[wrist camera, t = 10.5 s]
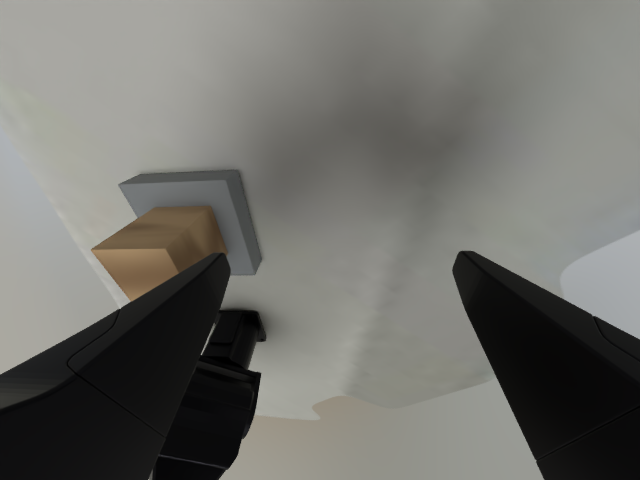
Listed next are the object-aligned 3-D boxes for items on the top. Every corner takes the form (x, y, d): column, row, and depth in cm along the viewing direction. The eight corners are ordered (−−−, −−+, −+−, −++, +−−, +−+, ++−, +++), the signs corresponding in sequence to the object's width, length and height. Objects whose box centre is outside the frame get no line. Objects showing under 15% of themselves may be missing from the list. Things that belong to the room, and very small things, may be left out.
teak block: (228, 253, 21) (195, 303, 16) (178, 254, 22) (132, 303, 17) (210, 205, 19) (165, 248, 14) (154, 207, 19) (90, 249, 14)
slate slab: (262, 256, 25) (255, 275, 23) (187, 257, 26) (172, 275, 24) (239, 167, 20) (225, 180, 17) (144, 172, 20) (117, 184, 18)
